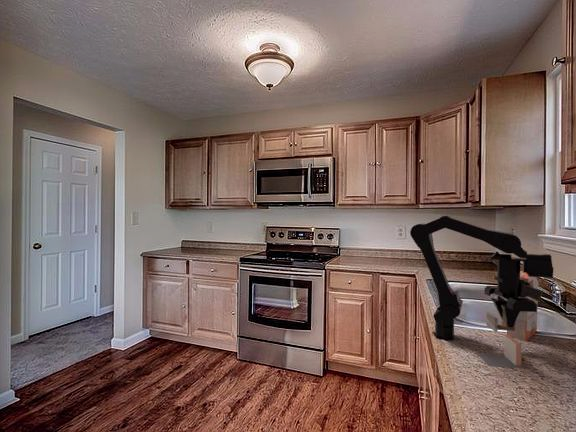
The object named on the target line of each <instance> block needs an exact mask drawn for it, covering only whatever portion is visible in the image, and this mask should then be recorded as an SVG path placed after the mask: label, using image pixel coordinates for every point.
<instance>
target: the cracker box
mask: <svg viewBox="0 0 576 432" xmlns="http://www.w3.org/2000/svg"><path fill="white" fill-rule="evenodd" d="M520 279H522V280H524V281H526V282H528V283H530V286H531V287H533V288H536V289H538V290H539V277H529V276H528V275H527V274H526V273H523V270H520ZM518 298H521V297H518ZM525 298H528V299H530V300H532V301H534V302H535V303H536V304H537V307H538V302H539V301H537V300H535V299H533V298H530V297H528V296H525ZM537 325H538V311H537V312H525V311H521V312H520V313H519V315H518V317H517V319H516V321H515V331H511V330H506V335H510V336H511V337H512V338H514V339H515V340H517V339H518V340H521V341H524V342H528V341H529V339H530V338H531V337H532V336H534V335H535V334H536V333H537V332H538V326H537Z"/></svg>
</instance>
